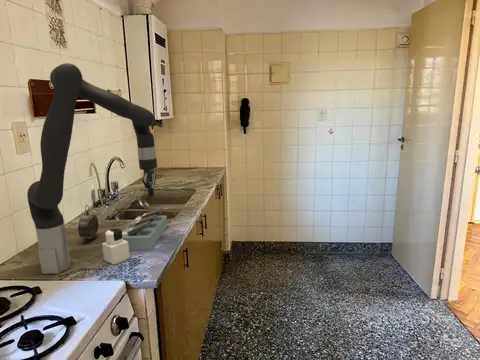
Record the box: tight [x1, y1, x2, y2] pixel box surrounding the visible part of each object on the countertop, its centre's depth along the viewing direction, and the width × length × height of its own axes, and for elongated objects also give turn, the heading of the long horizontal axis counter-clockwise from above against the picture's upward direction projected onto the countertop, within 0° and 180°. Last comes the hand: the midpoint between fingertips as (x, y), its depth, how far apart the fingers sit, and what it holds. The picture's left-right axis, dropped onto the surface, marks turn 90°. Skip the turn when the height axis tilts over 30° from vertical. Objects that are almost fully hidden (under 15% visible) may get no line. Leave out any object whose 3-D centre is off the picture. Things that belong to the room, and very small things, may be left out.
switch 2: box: [135, 214, 158, 226], centre depth 153 cm, size 5×9×2 cm, turn 87°
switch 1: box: [141, 207, 164, 219], centre depth 162 cm, size 5×9×2 cm, turn 87°
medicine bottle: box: [101, 228, 131, 265], centre depth 133 cm, size 7×7×12 cm
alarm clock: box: [77, 204, 99, 244], centre depth 153 cm, size 11×5×16 cm, turn 177°
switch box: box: [122, 215, 168, 251], centre depth 154 cm, size 27×14×7 cm, turn 177°
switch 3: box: [127, 220, 151, 236], centre depth 144 cm, size 5×9×2 cm, turn 87°
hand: (151, 196), depth 150 cm, fingers closed
